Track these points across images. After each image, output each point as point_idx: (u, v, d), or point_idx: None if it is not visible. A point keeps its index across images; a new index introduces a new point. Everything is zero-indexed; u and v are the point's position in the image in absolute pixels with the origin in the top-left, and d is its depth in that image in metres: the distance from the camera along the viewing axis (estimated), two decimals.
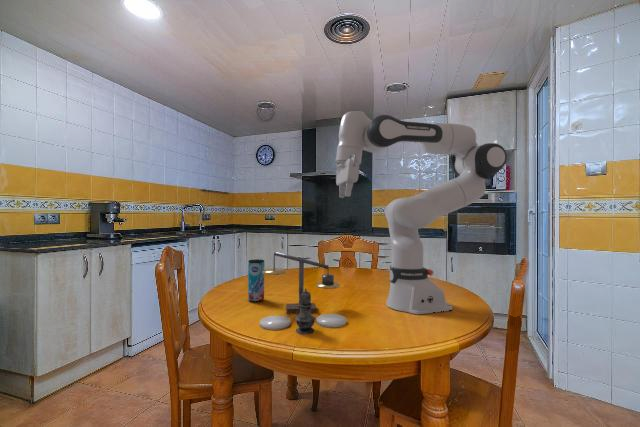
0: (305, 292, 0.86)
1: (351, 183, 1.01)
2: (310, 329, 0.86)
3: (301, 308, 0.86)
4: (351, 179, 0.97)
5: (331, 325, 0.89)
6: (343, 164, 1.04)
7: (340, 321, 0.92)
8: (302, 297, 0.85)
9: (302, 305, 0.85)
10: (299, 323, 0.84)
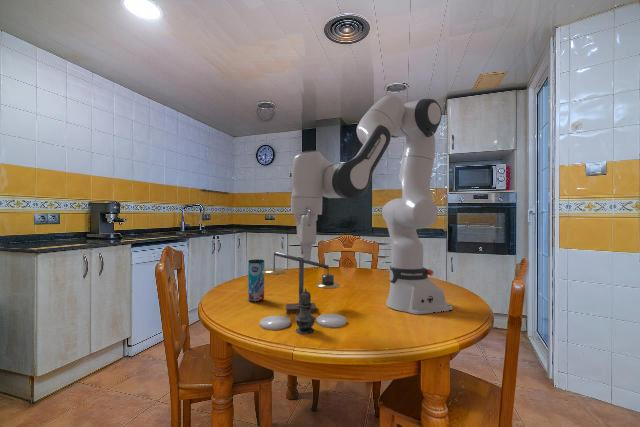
0: (305, 292, 0.86)
1: (309, 244, 0.80)
2: (310, 329, 0.86)
3: (301, 308, 0.86)
4: (307, 242, 0.77)
5: (331, 325, 0.89)
6: (299, 219, 0.84)
7: (340, 321, 0.92)
8: (302, 297, 0.85)
9: (302, 305, 0.85)
10: (299, 323, 0.84)
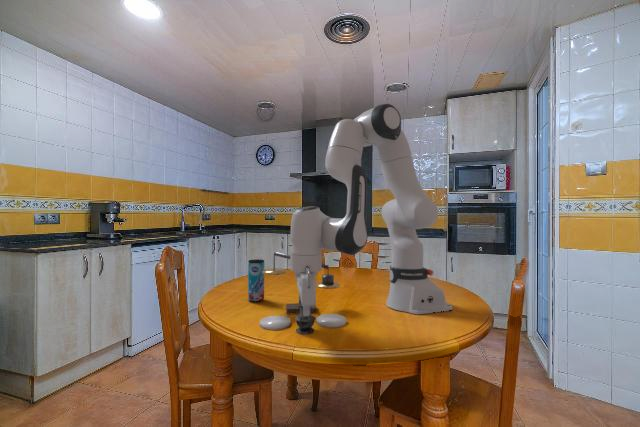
0: None
1: None
2: (310, 329, 0.86)
3: (301, 308, 0.86)
4: (307, 305, 0.77)
5: (331, 325, 0.89)
6: (298, 276, 0.84)
7: (340, 321, 0.92)
8: None
9: None
10: (299, 323, 0.84)
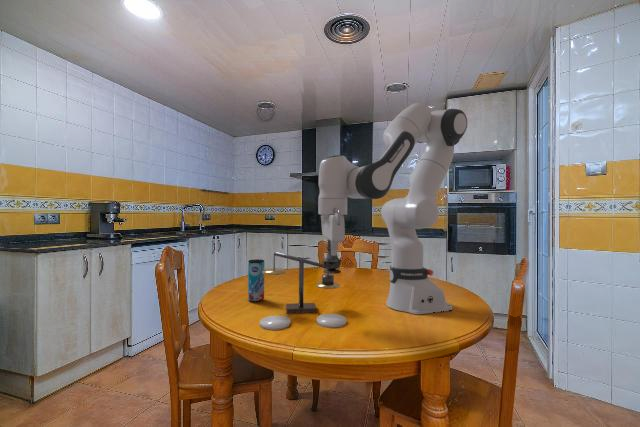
0: None
1: (336, 241, 0.89)
2: (336, 270, 0.93)
3: (328, 250, 0.93)
4: (337, 240, 0.84)
5: (331, 325, 0.89)
6: (327, 218, 0.91)
7: (340, 321, 0.92)
8: (329, 240, 0.92)
9: (330, 247, 0.92)
10: (327, 263, 0.91)
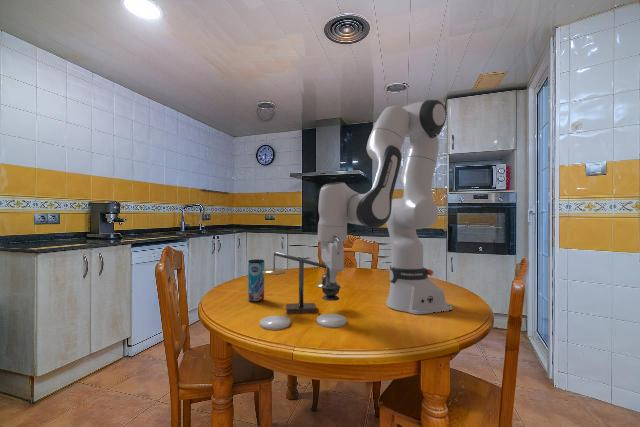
0: None
1: None
2: (335, 297, 0.93)
3: (327, 277, 0.92)
4: (336, 269, 0.84)
5: (331, 325, 0.89)
6: (326, 245, 0.91)
7: (340, 321, 0.92)
8: None
9: (329, 274, 0.92)
10: (325, 290, 0.91)
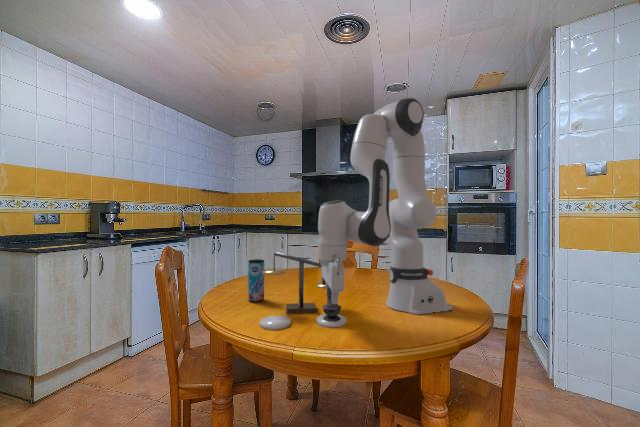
0: None
1: None
2: (336, 317, 0.93)
3: (328, 298, 0.93)
4: (336, 290, 0.84)
5: (331, 325, 0.89)
6: (326, 264, 0.91)
7: (340, 321, 0.92)
8: None
9: (330, 294, 0.92)
10: (327, 311, 0.92)
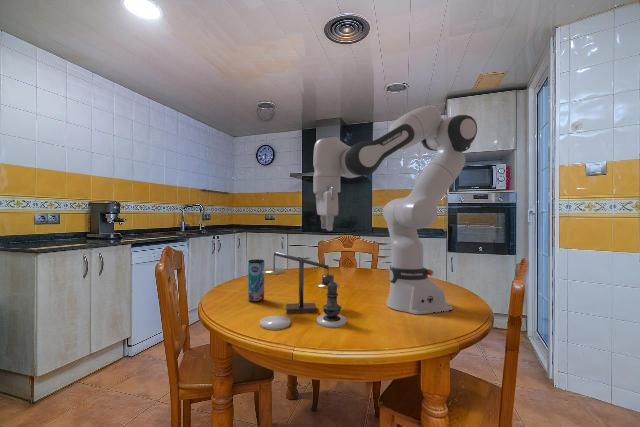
0: (332, 283, 0.93)
1: (332, 217, 0.93)
2: (336, 317, 0.93)
3: (328, 298, 0.93)
4: (331, 214, 0.90)
5: (331, 325, 0.89)
6: (321, 195, 0.97)
7: (340, 321, 0.92)
8: (329, 287, 0.93)
9: (330, 294, 0.92)
10: (327, 311, 0.92)
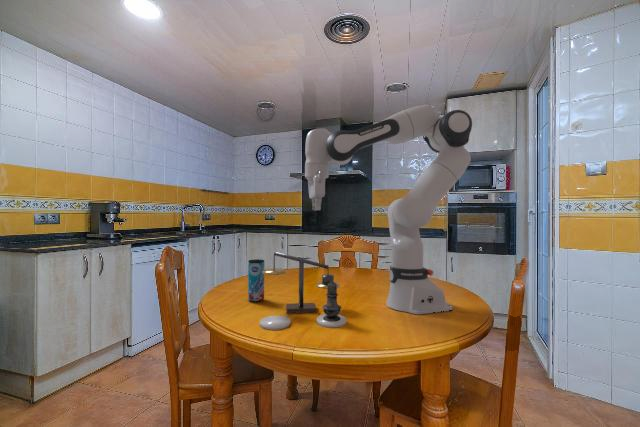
0: (332, 283, 0.93)
1: (320, 198, 1.07)
2: (336, 317, 0.93)
3: (328, 298, 0.93)
4: (318, 195, 1.04)
5: (331, 325, 0.89)
6: (311, 180, 1.11)
7: (340, 321, 0.92)
8: (329, 287, 0.93)
9: (329, 294, 0.92)
10: (326, 311, 0.92)
